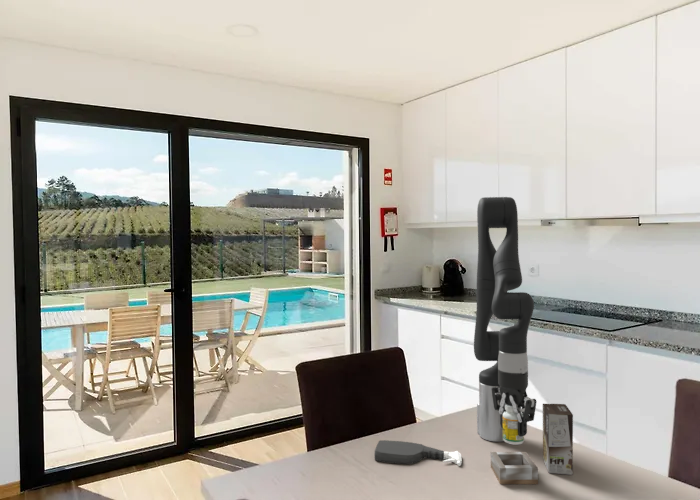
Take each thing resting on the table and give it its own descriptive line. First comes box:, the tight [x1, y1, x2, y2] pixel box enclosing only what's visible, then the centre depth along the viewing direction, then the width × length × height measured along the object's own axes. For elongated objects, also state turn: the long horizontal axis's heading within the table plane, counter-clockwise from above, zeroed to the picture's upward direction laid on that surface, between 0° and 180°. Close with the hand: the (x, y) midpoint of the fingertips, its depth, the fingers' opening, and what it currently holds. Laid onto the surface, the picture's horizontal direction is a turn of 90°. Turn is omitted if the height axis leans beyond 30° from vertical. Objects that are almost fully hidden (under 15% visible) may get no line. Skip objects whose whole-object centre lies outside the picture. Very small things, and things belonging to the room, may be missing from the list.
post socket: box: [490, 451, 539, 485], centre depth 136 cm, size 10×10×4 cm
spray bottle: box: [374, 439, 463, 467], centre depth 148 cm, size 3×11×24 cm
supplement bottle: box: [503, 404, 525, 446], centre depth 135 cm, size 5×5×10 cm
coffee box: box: [542, 403, 574, 476], centre depth 140 cm, size 9×6×16 cm
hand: (513, 431), depth 136 cm, fingers closed on supplement bottle, 5 cm apart
